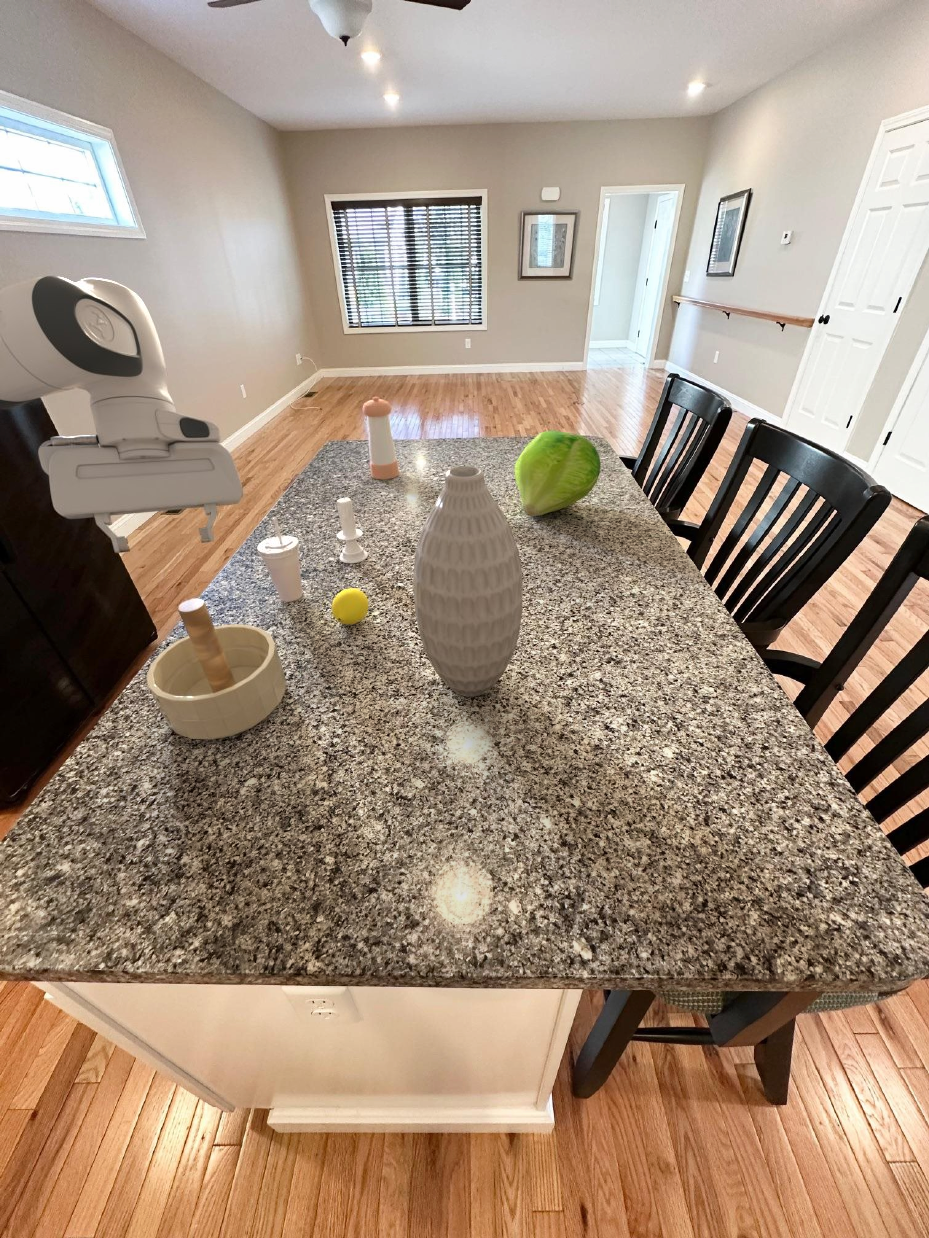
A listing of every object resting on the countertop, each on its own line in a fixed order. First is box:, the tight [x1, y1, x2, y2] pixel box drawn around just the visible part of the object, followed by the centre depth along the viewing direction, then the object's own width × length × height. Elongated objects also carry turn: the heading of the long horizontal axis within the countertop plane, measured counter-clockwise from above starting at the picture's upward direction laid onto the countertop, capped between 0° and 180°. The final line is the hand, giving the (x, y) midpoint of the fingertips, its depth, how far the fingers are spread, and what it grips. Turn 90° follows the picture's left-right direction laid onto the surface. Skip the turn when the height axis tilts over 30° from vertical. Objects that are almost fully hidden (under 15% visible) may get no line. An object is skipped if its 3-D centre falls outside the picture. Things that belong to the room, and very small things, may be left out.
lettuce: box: [514, 429, 602, 517], centre depth 110 cm, size 17×20×17 cm
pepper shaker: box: [362, 396, 400, 480], centre depth 130 cm, size 7×7×19 cm
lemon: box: [331, 587, 370, 626], centre depth 79 cm, size 7×5×5 cm
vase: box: [412, 465, 524, 697], centre depth 60 cm, size 13×13×28 cm
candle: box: [336, 497, 369, 564], centre depth 94 cm, size 5×5×12 cm
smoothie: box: [256, 517, 303, 603], centre depth 83 cm, size 6×6×14 cm
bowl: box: [146, 623, 287, 740], centre depth 64 cm, size 14×14×7 cm
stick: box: [177, 598, 236, 693], centre depth 62 cm, size 3×3×14 cm
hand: (166, 547), depth 64 cm, fingers open, 8 cm apart
